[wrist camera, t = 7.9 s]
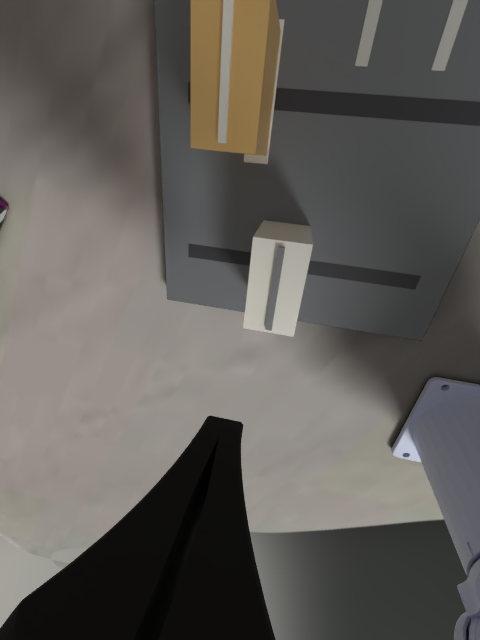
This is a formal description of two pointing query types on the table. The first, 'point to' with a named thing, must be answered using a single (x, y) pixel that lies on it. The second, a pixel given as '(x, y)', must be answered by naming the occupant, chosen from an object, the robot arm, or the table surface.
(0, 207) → the candy bar box
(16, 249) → the table surface
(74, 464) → the table surface
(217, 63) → the amber fader knob
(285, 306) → the cream fader knob
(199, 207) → the mixing board
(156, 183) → the table surface
